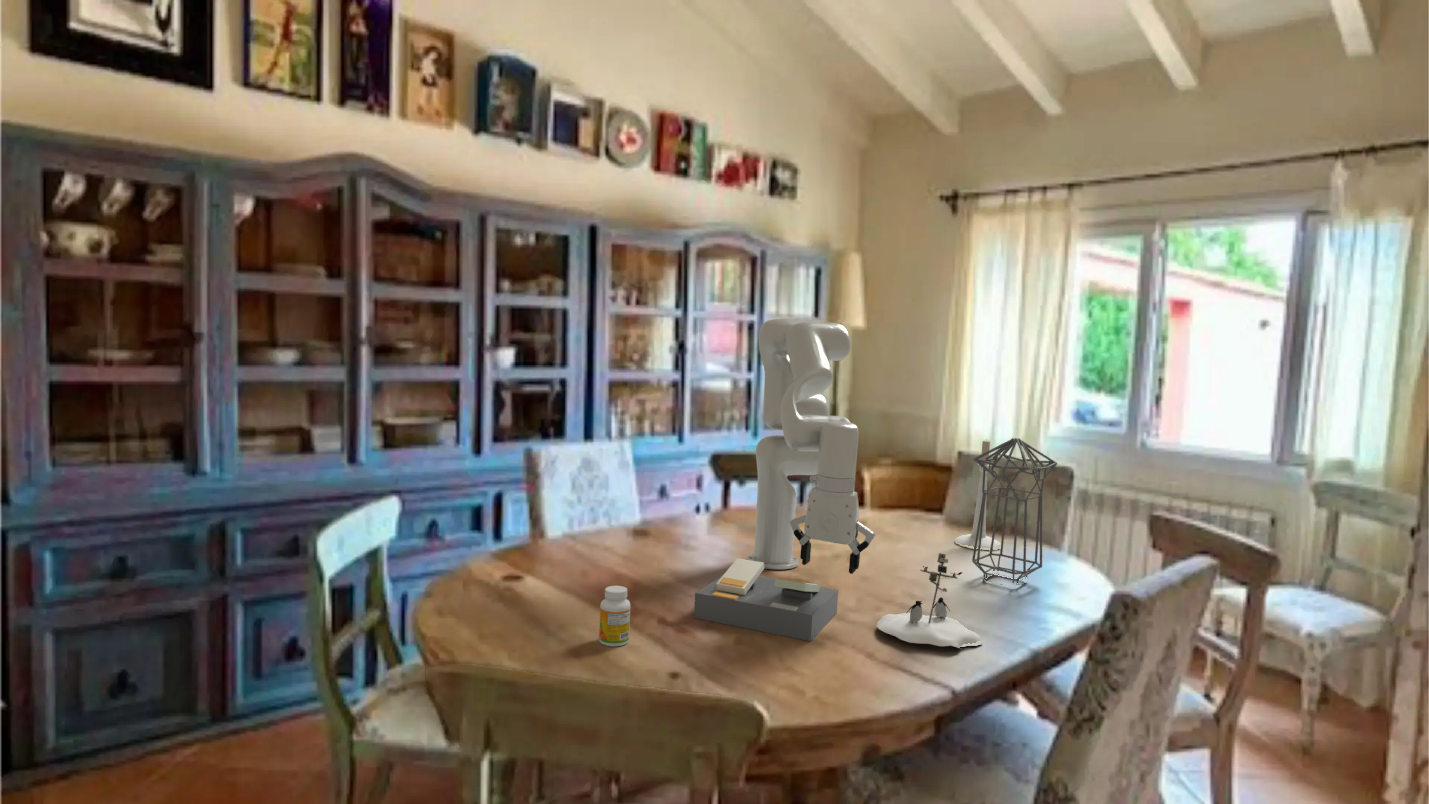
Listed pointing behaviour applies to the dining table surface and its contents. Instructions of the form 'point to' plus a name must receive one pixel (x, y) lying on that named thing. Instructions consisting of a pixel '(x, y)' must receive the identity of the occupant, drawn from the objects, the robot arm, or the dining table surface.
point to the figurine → (929, 620)
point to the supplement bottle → (614, 617)
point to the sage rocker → (796, 585)
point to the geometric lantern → (1052, 464)
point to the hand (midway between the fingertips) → (828, 567)
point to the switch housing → (769, 608)
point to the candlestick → (971, 538)
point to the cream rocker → (740, 576)
